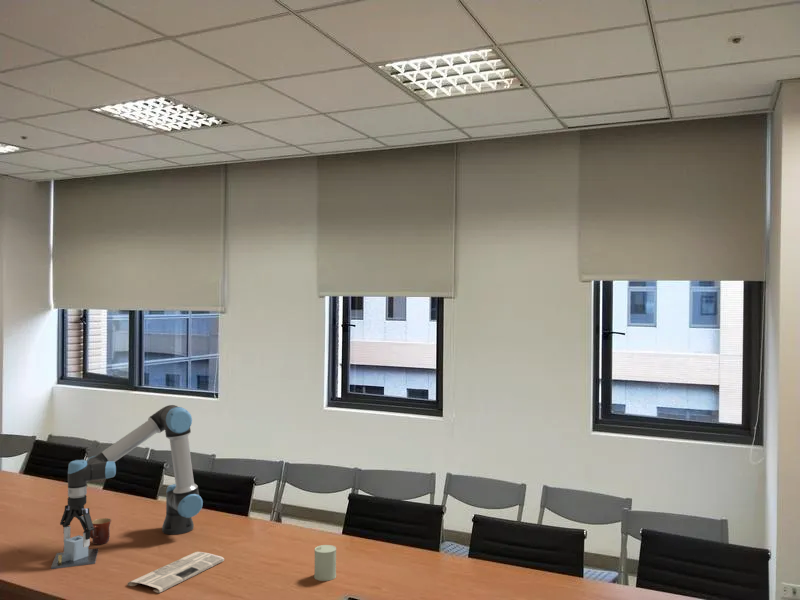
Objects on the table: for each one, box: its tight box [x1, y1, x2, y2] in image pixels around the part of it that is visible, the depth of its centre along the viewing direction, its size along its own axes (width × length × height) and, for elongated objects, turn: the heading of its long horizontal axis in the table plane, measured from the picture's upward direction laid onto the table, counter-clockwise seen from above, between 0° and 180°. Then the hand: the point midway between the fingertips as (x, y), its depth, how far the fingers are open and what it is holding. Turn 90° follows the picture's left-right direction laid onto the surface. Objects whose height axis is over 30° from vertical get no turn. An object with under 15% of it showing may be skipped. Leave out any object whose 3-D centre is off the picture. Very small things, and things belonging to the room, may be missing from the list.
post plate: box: [50, 547, 99, 570], centre depth 278 cm, size 17×17×6 cm
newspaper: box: [127, 551, 225, 594], centre depth 264 cm, size 37×19×3 cm, turn 154°
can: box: [313, 544, 337, 582], centre depth 261 cm, size 9×9×12 cm
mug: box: [90, 517, 112, 546], centre depth 298 cm, size 12×9×10 cm
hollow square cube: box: [57, 535, 89, 563], centre depth 276 cm, size 12×7×8 cm, turn 151°
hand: (76, 543), depth 279 cm, fingers open, 13 cm apart
